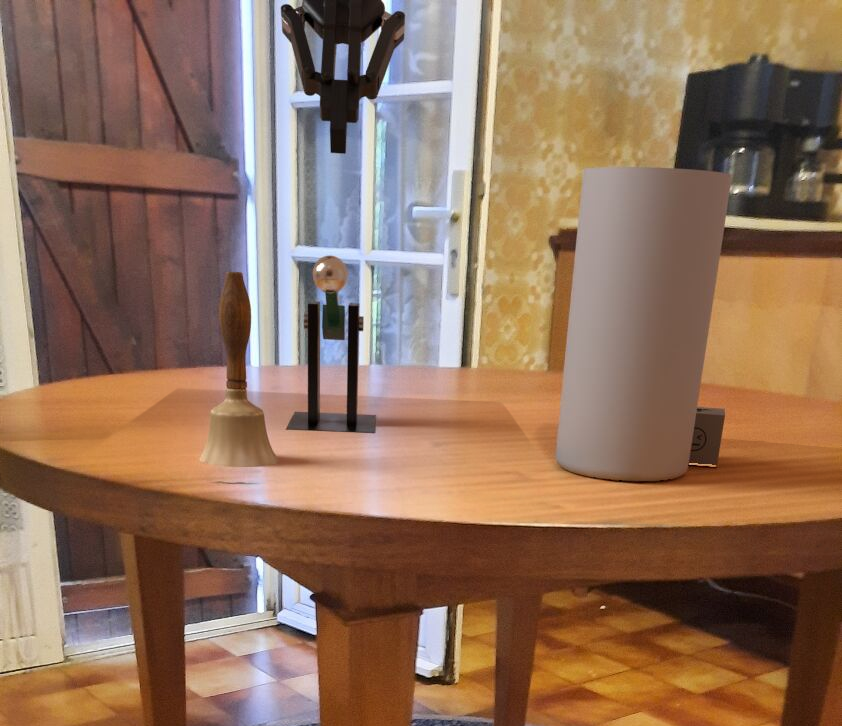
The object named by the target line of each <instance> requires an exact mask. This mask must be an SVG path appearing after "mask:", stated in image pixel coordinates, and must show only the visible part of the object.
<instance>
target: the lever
mask: <svg viewBox="0 0 842 726" xmlns="http://www.w3.org/2000/svg"><path fill="white" fill-rule="evenodd" d="M348 277H349V275H348V268H347V266H346V264H345V263H344V261H343V260H342V259H341V258H340V257H338V256H336V255H325V256H322V257H320V258H319V259H318V260H317V261H316V262H315V264H314V266H313V269H312V279H313V282H314V284H315V286H316V287H317V288H318V290H320V291H321V292H323V293H324V296H325V304H322V313H321V314H322V316H321V317H322V319H321V331H322V339H323V340H332V341H345V340H346V306H345V305H343V304H342V305H340V304H339V292H340V291H342V290H343V289H344V287H345V286H346V284H347V281H348Z"/></svg>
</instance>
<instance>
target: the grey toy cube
mask: <svg viewBox="0 0 842 726" xmlns="http://www.w3.org/2000/svg"><path fill="white" fill-rule="evenodd" d="M725 418H726V409H725V408H720V407H708V406H707V407H706V406H697V412H696V418H695V425H694V432H693V438H692V445H691V451H690V458H689V463H698V464H712V465H717V466H718V462H719V456H720V451H721V450H720V449H721V444H722V439H723V438H722V437H723V431H724V424H725Z"/></svg>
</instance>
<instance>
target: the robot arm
mask: <svg viewBox="0 0 842 726" xmlns="http://www.w3.org/2000/svg"><path fill="white" fill-rule="evenodd" d="M301 2H302V3H301V6H297V7H296V8H294V7H293V6H292V5H291V4H290V3H289V4H288V3H284V4H282V5H281V6H280V19H281V20H280V21H281V32H282V34H283V35H284V37H286V39H287V40H288V41H289V42H290V44H291V47H292V51H293V55H294V59H295V63H296V67H297V70H298V74H299V78H300V81H301V86H302V89H303V92H304V94H305V95H306V96H308V97H312V96H315V95H318V96H319V118H320V120H321V121H322V122H329V140H330V141H329V145H330V154H344V155H345V154H346V155H347V133H348V124H357V123H358V121H359V118H360V117H359V116H360V101H361V99H363V98H366V99H368V100H371V101H373V100H375V99H377V98H378V96H379V93H380V90H381V87H382V84H383V82H384V79H385V76H386V73H387V71H388V68H389V65H390V62H391V60H392V57H393V55H394V52H395V49H397V48H398V46H400V45H401V44H402V43H403V41H404V40H405V30H406V27H405V26H406V15H405V12H404V11H402V10H397V11H394V12H393V13H392V14H391V13H389V12H387V11H386V5H385V3H384V2H383V0H302V1H301ZM306 23H307V25H309V27H310V28H311V29H312V30H313V31H314V32H315V34H316V35H317V36H318V37H319V38H320V39H321V40H322V46H321V47H322V49H321V65H320V72H319V71H316V68H315V63H314V60H313V56H312V51H311V49H310V45H309V42H308V38H307V37H308V36H307V35H306V34H307V33H306ZM379 29H380V32H379V35H378V38H377V40H376V43H375V46H374V48H373V51H372V54H371V57H370V60H369V62H368V65H367V67H366V70H365V73H364V74H361V63H362V43H364V42H365V41H367V40H368V39H369V38H370V37H371V36H372V35H373V34H374V33H375V32H377V31H378V30H379ZM338 45H347V48H348V49H347V70H346V79H335V78H336V77H335V76H336V59H337V57H336V56H337V50H338V49H337V46H338Z"/></svg>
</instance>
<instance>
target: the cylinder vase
mask: <svg viewBox="0 0 842 726" xmlns="http://www.w3.org/2000/svg"><path fill="white" fill-rule="evenodd" d="M732 178H733V174H730V173H727V172H721V171H714V170H713V171H712V170H703V169H690V168H676V167H675V168H674V167H649V166H598V167H586V168H583V169H582V181H581V191H580V199H579V210H578V211H579V212H578V219H577V220H578V221H577V231H576V241H575V251H574V252H575V253H574V260H573V261H574V262H573V272H572V281H571V290H570V291H571V293H570V303H569V304H570V305H569V313H568V323H567V333H566V343H565V354H564V363H563V364H564V365H563V375H562V383H561V384H562V385H561V394H560V405H559V416H558V423H557V437H556V446H555V454H554V455H555V461H556V463H557V465H558V466H560V468H561V469H564V470H565V471H568V472H570V473H573V474H577V475H581V476H585V477H589V478H594V477H595V479H602V480H609V479H610V480H611V481H619V480H622V481H621V482H638V481H649V482H661V481H660V480H664V481H669V480H668V479H670V480H674V479H677V478H679V477H681V476H683V475H685V473H686V472H687V471H688V469H689V466H688V465H689V458H690V451H691V445H692V438H693V432H694V425H695V418H696V412H697V407H698V406H699V405H698V404H699V398H700V392H701V384H702V378H703V371H704V364H705V359H706V353H707V352H706V351H707V344H708V340H709V339H708V338H709V332H710V324H711V320H712V319H711V318H712V312H713V304H714V299H715V292H716V284H717V277H718V272H719V266H720V265H719V264H720V258H721V252H722V245H723V238H724V232H725V226H726V219H727V211H728V205H729V199H730V192H731V186H732Z"/></svg>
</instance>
